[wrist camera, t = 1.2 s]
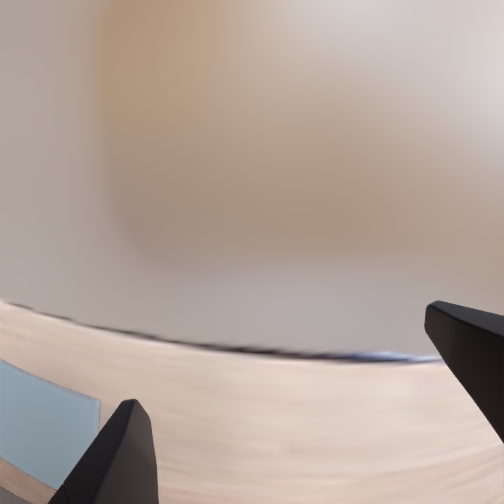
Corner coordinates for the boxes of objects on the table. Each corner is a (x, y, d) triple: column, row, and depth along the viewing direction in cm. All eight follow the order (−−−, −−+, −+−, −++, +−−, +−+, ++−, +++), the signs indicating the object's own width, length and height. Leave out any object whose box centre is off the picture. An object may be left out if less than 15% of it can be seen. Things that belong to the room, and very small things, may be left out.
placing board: (100, 400, 21) (94, 402, 20) (99, 503, 18) (95, 507, 17) (-10, 353, 21) (-16, 353, 20) (-7, 446, 18) (-12, 448, 17)
